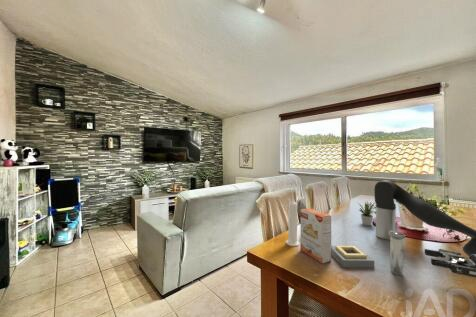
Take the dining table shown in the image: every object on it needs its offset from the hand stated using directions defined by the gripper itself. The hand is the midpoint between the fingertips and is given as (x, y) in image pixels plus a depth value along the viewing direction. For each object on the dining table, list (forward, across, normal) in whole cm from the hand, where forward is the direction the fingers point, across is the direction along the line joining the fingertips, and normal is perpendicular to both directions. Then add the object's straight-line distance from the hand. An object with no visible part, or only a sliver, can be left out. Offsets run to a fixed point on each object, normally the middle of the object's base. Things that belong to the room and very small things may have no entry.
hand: (427, 256), depth 73 cm
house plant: (+17, +62, -9) cm, 66 cm away
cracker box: (+40, -3, -9) cm, 41 cm away
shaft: (+9, 0, -9) cm, 13 cm away
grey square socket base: (+26, +2, -9) cm, 27 cm away
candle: (+53, +4, -9) cm, 54 cm away
